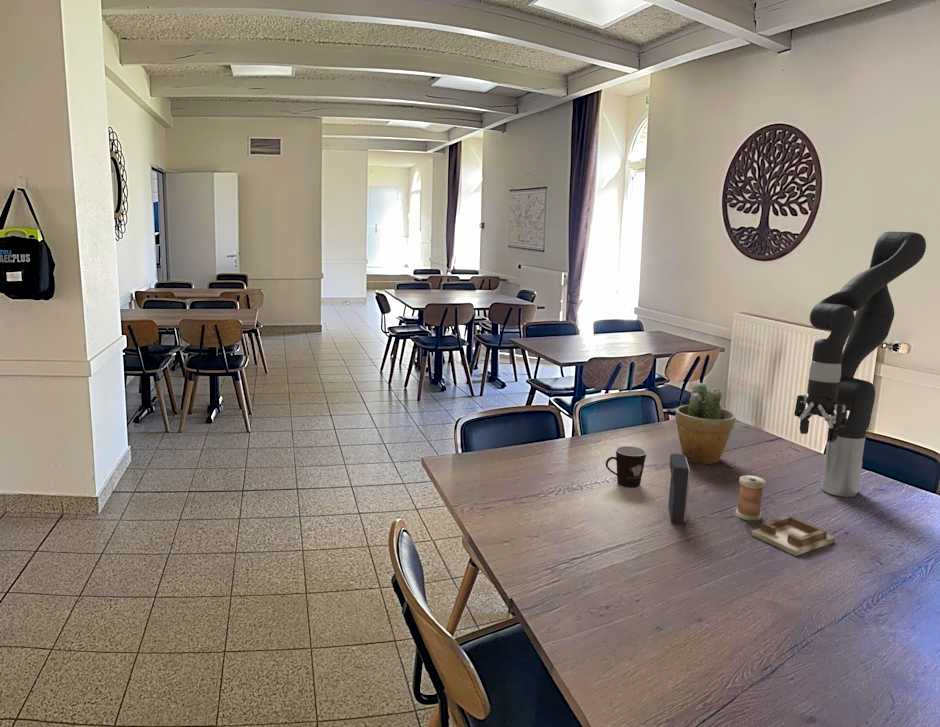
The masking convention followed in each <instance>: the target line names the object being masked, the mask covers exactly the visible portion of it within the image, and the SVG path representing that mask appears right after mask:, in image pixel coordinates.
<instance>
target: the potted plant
mask: <svg viewBox="0 0 940 727" xmlns="http://www.w3.org/2000/svg"><path fill="white" fill-rule="evenodd" d="M691 389H692V391H691V394H690V398H689V401H688V402H689V403H688V404H685V405H684V404H682V405H679V406H678V407H675V409H674V410H675V423H676V425H677V433H678V439H679V443H680V447H681V452H682V455H685V457H686V459H687V461H688V462H691V461H692V463H694V462H696V463H695V464H700V463H702V465H712V464H713V463H714V464H716V463H718V462H719V461H720V460H721V457H722V456H723V453H724V451H725V448H726V445H727V442H728V440H729V438H730V435H731V432H732V430H733V429H734V426H735V422H736V420H737V419H736V418H737V416H736V413H734V412H732V411H731V410H728V409H725V408H722V407H721V405H720V404H721V399H722V398H723V396H722V394H723V393H721V392H722V391H721V390H720V388H715V387H713V388H710V389H708V388H707V385H706V384H705V383H703V382H696V383H694V384H693V385H692V386H691Z"/></svg>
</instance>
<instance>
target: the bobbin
mask: <svg viewBox="0 0 940 727" xmlns="http://www.w3.org/2000/svg"><path fill="white" fill-rule="evenodd" d="M738 484H739V485H740V487H739V496H738V504H737V507H736V509H735V515H737V516H736V517H737V518H739V519H741V518H742V519H741V520H745V521H749V520H751V521H750V522H756V521H755V520H758V521H760V520H762V511H761V508H762V500H763V499H762V498H763V490H764V489H765V486H766V480H765V479H764V478H762V477H759V476H756V475H749V474H747V475H741V476H740V477H739V480H738ZM759 519H760V520H759ZM752 520H753V521H752Z"/></svg>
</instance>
